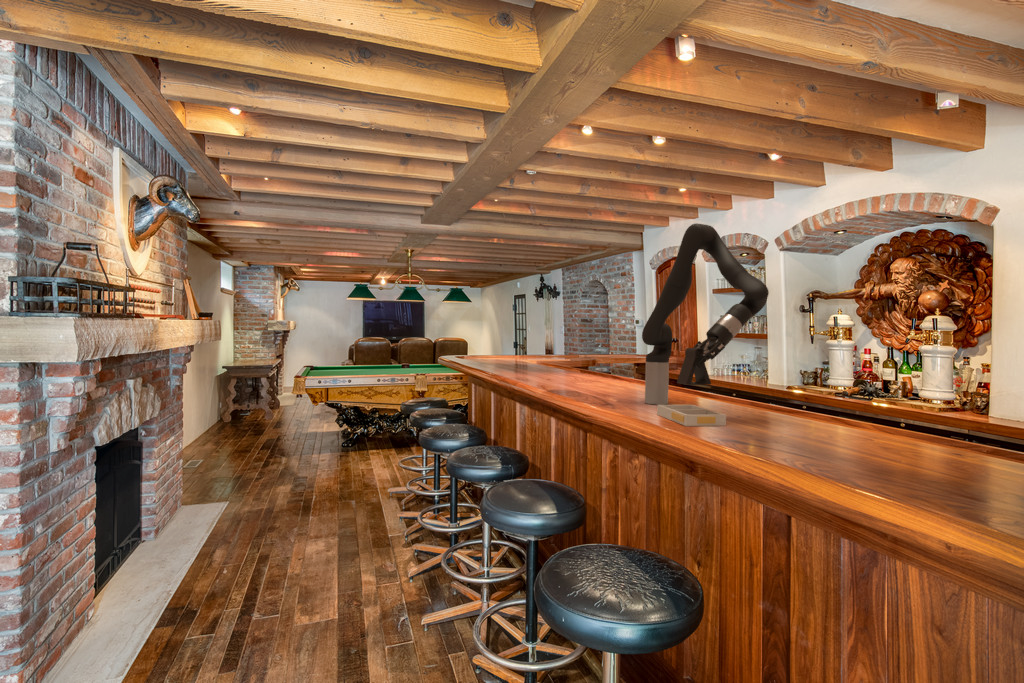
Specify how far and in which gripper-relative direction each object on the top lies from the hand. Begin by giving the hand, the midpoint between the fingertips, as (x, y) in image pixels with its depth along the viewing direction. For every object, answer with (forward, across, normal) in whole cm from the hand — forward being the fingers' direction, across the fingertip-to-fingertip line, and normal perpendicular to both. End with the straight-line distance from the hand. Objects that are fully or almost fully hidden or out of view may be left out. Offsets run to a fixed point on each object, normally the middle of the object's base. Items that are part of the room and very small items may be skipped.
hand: (691, 365), depth 163 cm
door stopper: (+4, 0, +5) cm, 6 cm away
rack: (+13, -1, +13) cm, 19 cm away
